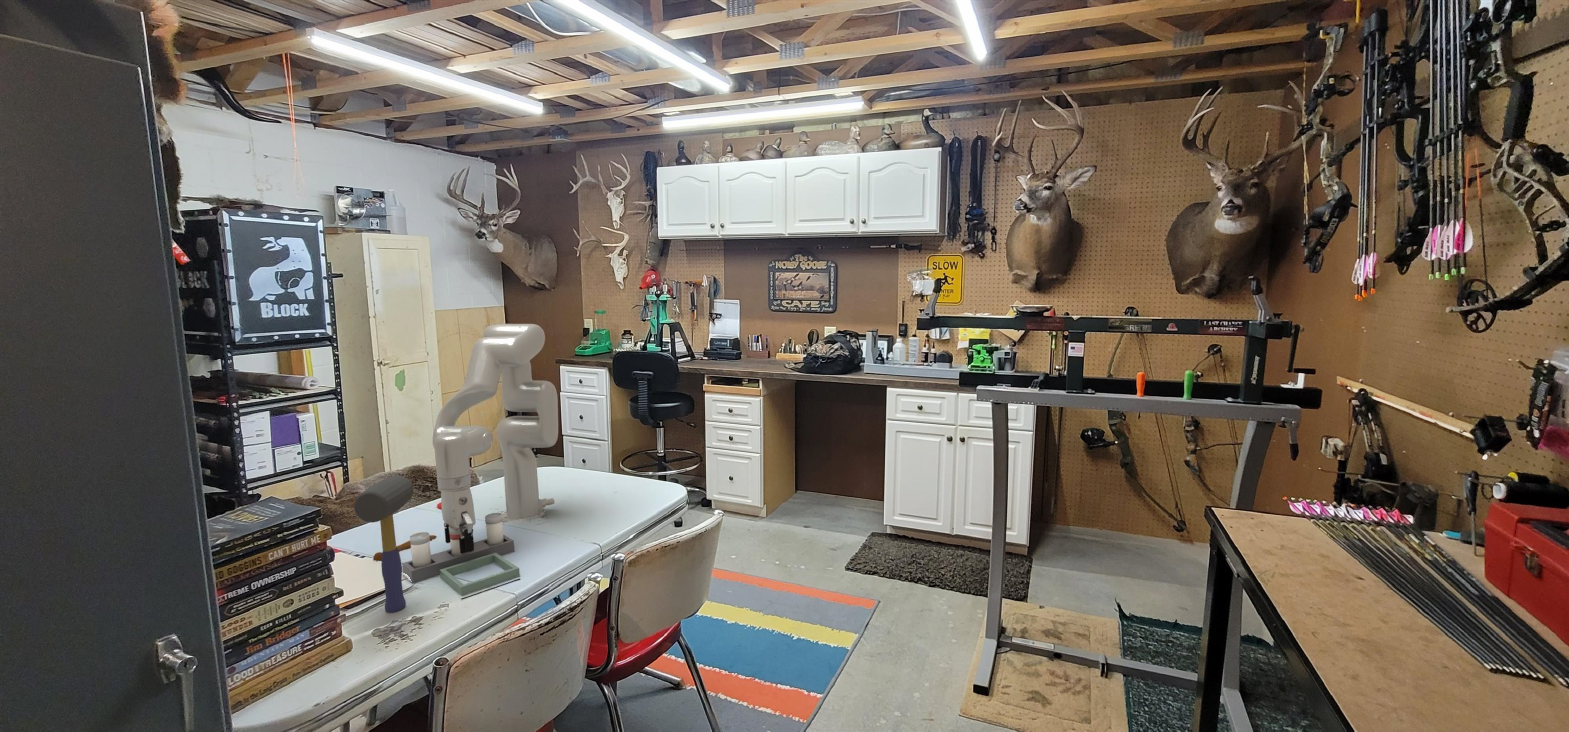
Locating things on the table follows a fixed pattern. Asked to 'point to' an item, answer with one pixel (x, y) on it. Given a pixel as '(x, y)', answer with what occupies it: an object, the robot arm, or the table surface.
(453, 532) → the cylinder
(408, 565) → the fuse holder
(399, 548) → the primitive tool
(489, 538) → the cylinder
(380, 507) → the rubber mallet
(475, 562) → the tray
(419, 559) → the cylinder
